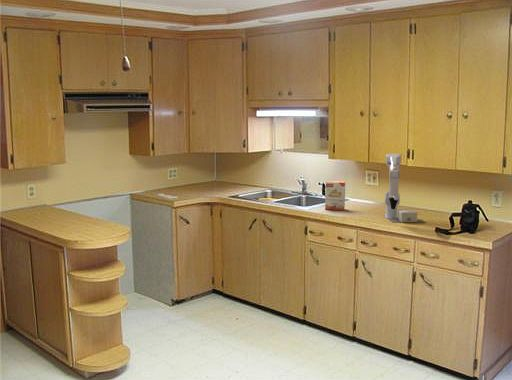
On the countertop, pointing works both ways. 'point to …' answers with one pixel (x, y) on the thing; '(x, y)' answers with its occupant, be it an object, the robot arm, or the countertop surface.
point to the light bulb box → (407, 215)
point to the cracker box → (335, 195)
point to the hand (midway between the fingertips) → (393, 209)
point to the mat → (400, 221)
